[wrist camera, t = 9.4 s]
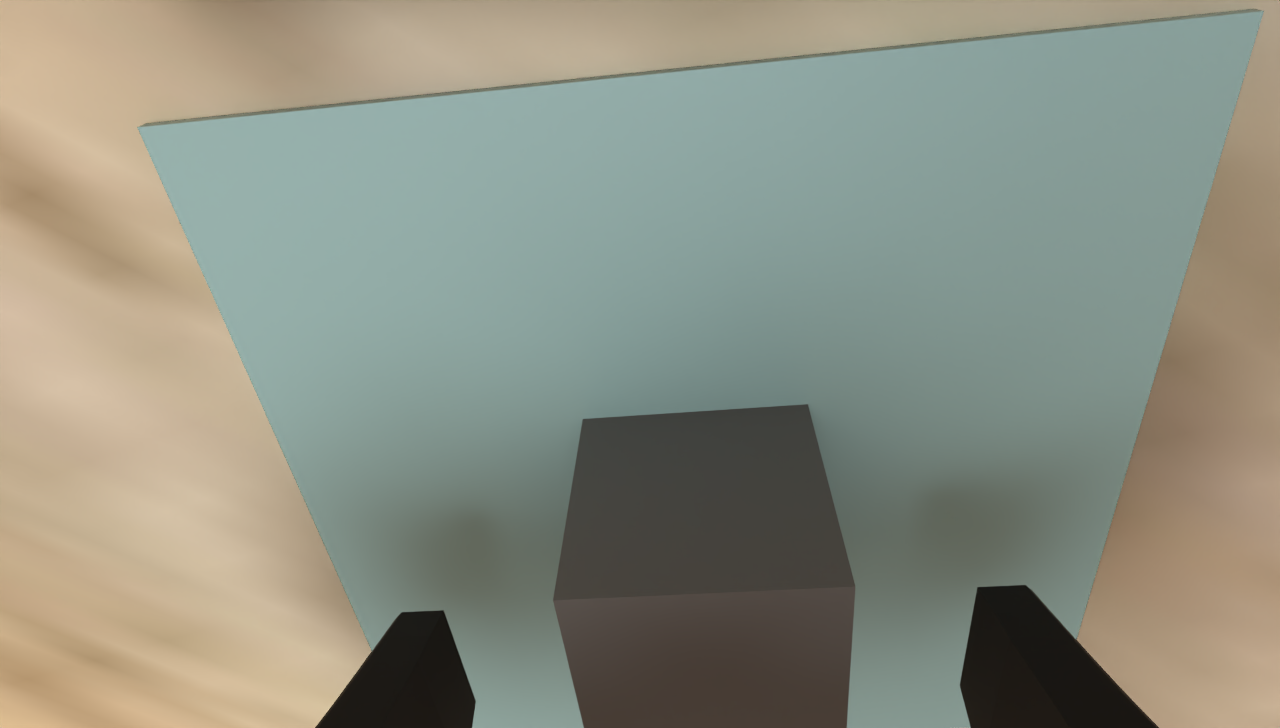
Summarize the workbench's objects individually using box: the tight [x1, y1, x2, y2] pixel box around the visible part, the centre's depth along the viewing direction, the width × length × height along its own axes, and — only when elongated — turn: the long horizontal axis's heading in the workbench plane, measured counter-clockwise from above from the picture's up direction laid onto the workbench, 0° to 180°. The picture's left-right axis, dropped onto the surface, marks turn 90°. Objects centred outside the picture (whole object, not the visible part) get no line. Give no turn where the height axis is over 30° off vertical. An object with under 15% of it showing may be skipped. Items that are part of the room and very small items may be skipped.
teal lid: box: [137, 9, 1264, 728], centre depth 12 cm, size 14×14×4 cm
